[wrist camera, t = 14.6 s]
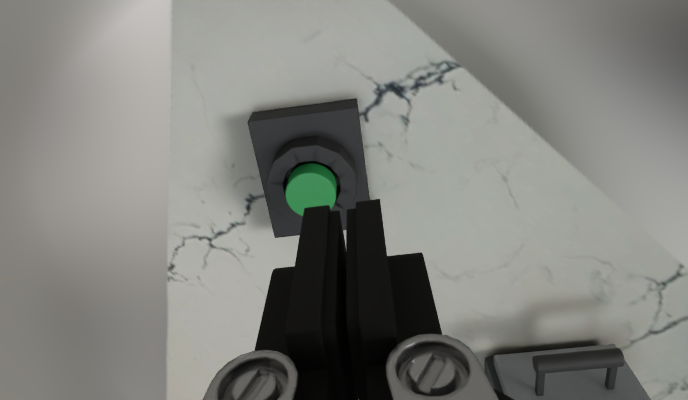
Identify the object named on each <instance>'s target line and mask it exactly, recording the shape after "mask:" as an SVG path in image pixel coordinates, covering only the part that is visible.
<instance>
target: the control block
mask: <svg viewBox="0 0 688 400" xmlns="http://www.w3.org/2000/svg"><path fill="white" fill-rule="evenodd" d="M248 126H249V130H250V134H251V139H252V143H253V147H254V151H255V155H256V160H257V164H258V168H259V172H260V177H261V181H262V185H263V189H264V193H265V198H266V202H267V206H268V210H269V215H270V219H271V223H272V227H273V231H274V236H275V238H278V237H286V236H295V235H300V232H301V226H302V219H303V216H301V215H299V214H297V213H295V212H294V211H293V210H292V209H291V208H290V207H289V205H288V203H287V201H286V197H285V191H286V187H287V182H288V179H289V176H290V174H291V173H292V171H293V170H294V169H296V168H297V167H298V166H300V165H303V164H307V163H316V164H320V165H322V166H324V167H326V168H327V169H329V170H330V171H331V172H332V174H333V175H334V177H335V180H336V185H337V186H336V200H335V203H334V205H333V207H332V208H331V211H337V210H339V211H340V216H341V222H342V228H343V230H347V209H354V208H356V204H355V203H356V202H359V201H368V200H370V199H369V191H368V183H367V175H366V167H365V159H364V152H363V144H362V136H361V128H360V120H359V112H358V104H357V99H350V100H343V101H335V102H328V103H320V104H312V105H305V106H297V107H290V108H282V109H274V110H267V111H259V112H253V113H252V115H251V116H250V118H249V120H248Z"/></svg>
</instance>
